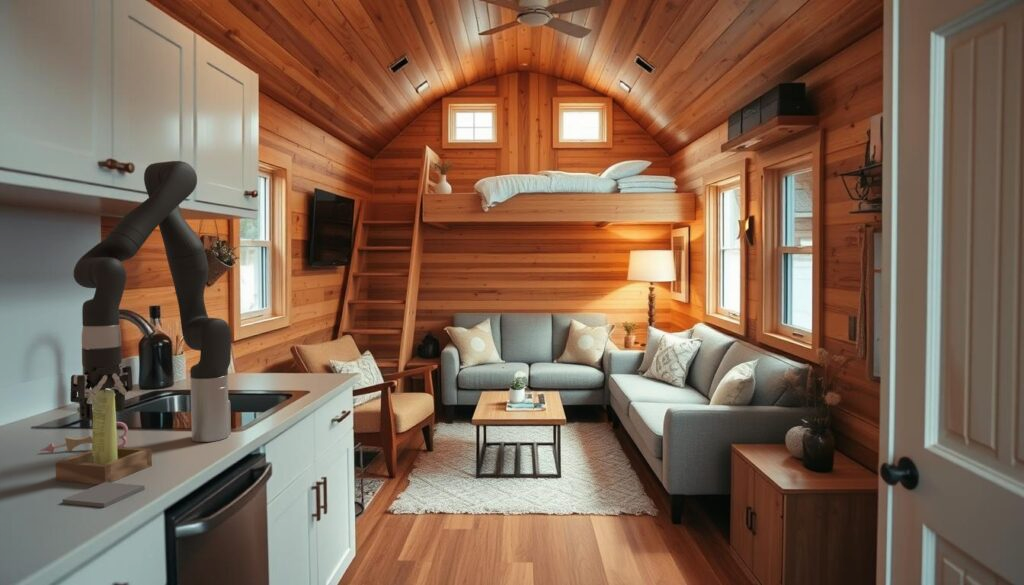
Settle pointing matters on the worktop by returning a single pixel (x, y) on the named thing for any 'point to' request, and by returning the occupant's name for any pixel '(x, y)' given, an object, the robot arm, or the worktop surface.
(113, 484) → the pad
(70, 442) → the decorative key
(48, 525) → the worktop surface
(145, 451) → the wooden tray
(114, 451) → the tube
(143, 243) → the robot arm
